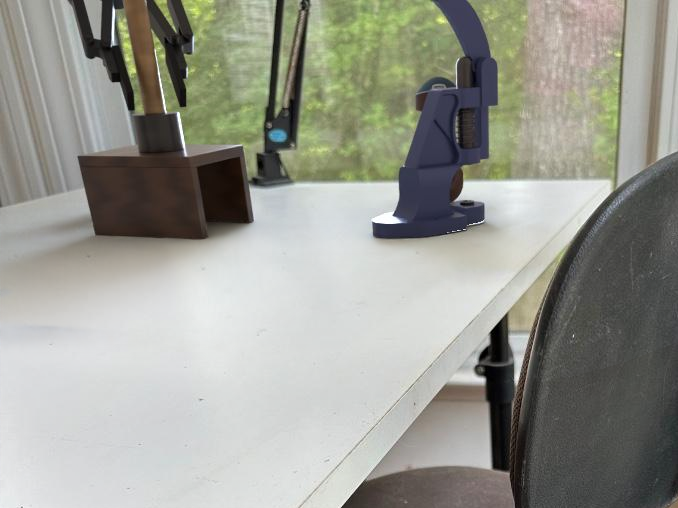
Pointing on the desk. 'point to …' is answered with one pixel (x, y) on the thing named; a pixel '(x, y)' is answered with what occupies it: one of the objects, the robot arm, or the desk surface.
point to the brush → (150, 87)
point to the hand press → (447, 139)
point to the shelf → (166, 190)
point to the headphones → (419, 103)
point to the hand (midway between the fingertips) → (157, 99)
